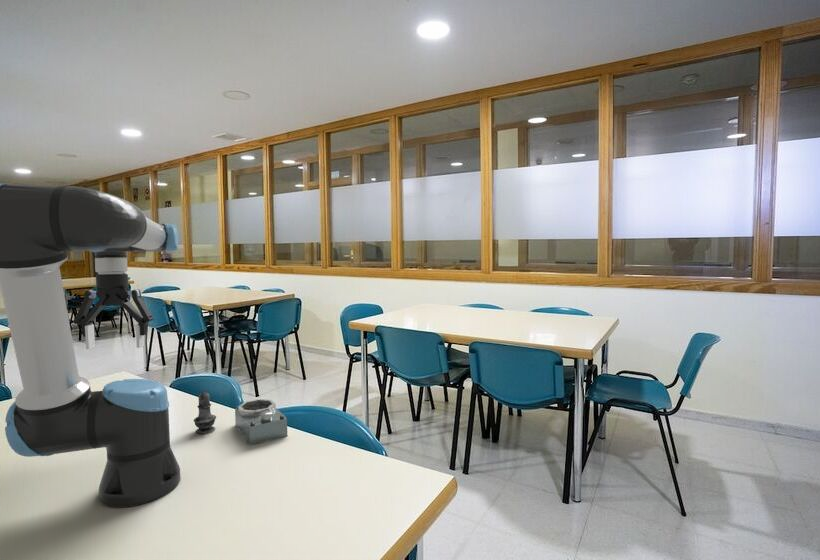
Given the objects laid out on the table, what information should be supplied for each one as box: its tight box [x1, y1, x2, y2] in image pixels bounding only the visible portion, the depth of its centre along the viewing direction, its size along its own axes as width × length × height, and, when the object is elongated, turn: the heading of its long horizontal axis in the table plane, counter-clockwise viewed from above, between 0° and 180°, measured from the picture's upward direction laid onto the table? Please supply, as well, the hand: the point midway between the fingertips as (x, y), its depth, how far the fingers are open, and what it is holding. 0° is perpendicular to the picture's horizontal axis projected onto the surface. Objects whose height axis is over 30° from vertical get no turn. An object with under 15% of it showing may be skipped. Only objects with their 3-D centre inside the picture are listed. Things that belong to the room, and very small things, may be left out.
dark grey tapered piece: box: [192, 389, 217, 436], centre depth 124 cm, size 6×6×12 cm
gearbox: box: [234, 398, 288, 446], centre depth 124 cm, size 16×10×7 cm, turn 35°
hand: (115, 347), depth 124 cm, fingers open, 13 cm apart
